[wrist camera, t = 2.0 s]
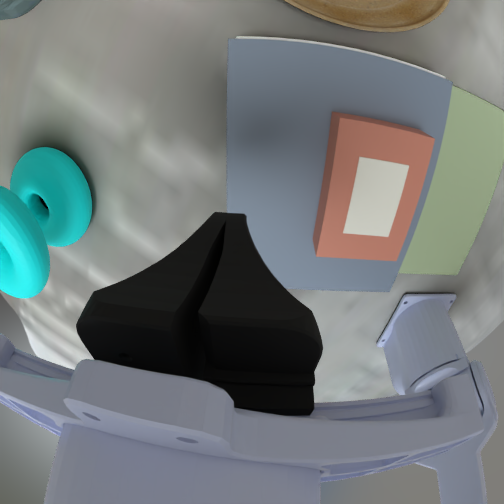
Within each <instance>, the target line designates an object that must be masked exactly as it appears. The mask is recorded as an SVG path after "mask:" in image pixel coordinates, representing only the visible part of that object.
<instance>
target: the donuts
mask: <svg viewBox="0 0 504 504" xmlns="http://www.w3.org/2000/svg"><path fill="white" fill-rule="evenodd" d="M39 196H40V197H41V198H42V199H43V200H44V201H45V203H46V205H47V206H48V209H49V210H47V209H46V208H45V206H44V205H43V204H42V202H41V200H40V198H39ZM91 215H92V198H91V193H90V189H89V186H88V183H87V181H86V179H85V177H84V175H83V173H82V171H81V170H80V168H79V167H78V166H77V164H76V163H75V162H74V161H73V160H72V159H71V158H70V157H69V156H67V155H66V154H65V153H63V152H61V151H59V150H57V149H54V148H50V147H39V148H35V149H32V150H30V151H29V152H27V153H26V154H24V155H23V156H22V157H21V158H20V160H19V161H18V162H17V164H16V166H15V168H14V170H13V173H12V177H11V181H10V190H8V189H7V188H5V187H3V186H0V290H2V291H3V292H5V293H7V294H9V295H11V296H14V297H17V298H31V297H33V296H35V295H37V294H38V293H40V292H41V291H42V290H43V288H44V287H45V285H46V283H47V280H48V277H49V272H50V256H49V251H48V247H47V245H50V246H55V247H62V246H67V245H70V244H73V243H74V242H76V241H77V240H79V239H80V238H81V237H82V236H83V234H84V233H85V232H86V230H87V228H88V226H89V223H90V220H91Z"/></svg>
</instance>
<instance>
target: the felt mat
mask: <svg viewBox="0 0 504 504" xmlns="http://www.w3.org/2000/svg"><path fill="white" fill-rule="evenodd" d="M503 162H504V111H503V110H501V109H499V108H498V107H496V106H494V105H492V104H490V103H488V102H486V101H485V100H483V99H481V98H479V97H477V96H475V95H472V94H470V93H468V92H466V91H464V90H462V89H460V88H457V87H455V86H453V85H452V92H451V98H450V105H449V110H448V116H447V121H446V126H445V131H444V135H443V140H442V144H441V148H440V153H439V156H438V160H437V164H436V168H435V171H434V175H433V178H432V182H431V185H430V189H429V192H428V195H427V198H426V201H425V204H424V207H423V210H422V213H421V216H420V219H419V222H418V224H417V227H416V230H415V233H414V235H413V238H412V240H411V243H410V245H409V248H408V250H407V253H406V255H405V258H404V260H403V263H402V265H401V267H400V270H399V272H398V273H409V274H436V275H457V274H458V272H459V270H460V268H461V266H462V264H463V262H464V261H465V259H466V257H467V255H468V253H469V251H470V248H471V246H472V244H473V242H474V240H475V238H476V236H477V233H478V231H479V229H480V227H481V224H482V222H483V219H484V217H485V215H486V212H487V210H488V207H489V204H490V202H491V199H492V196H493V193H494V191H495V188H496V185H497V182H498V179H499V176H500V172H501V169H502V166H503Z"/></svg>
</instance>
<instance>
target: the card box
mask: <svg viewBox="0 0 504 504" xmlns="http://www.w3.org/2000/svg"><path fill="white" fill-rule="evenodd" d="M434 141H435V138H433V137H431V136H430V135H428V134H426V133H425V132H423V131H421V130H419V129H415V128H411V127H407V126H404V125H399V124H395V123H391V122H387V121H382V120H377V119H372V118H367V117H362V116H357V115H351V114H345V113H339V112H332V115H331V123H330V131H329V139H328V146H327V153H326V161H325V167H324V174H323V180H322V187H321V193H320V199H319V205H318V211H317V217H316V222H315V228H314V233H313V244H314V249H315V254H316V257H331V258H348V259H366V260H383V261H397V258H398V256H399V253H400V251H401V248H402V246H403V243H404V241H405V238H406V235H407V232H408V230H409V227H410V224H411V221H412V218H413V215H414V212H415V209H416V206H417V203H418V200H419V197H420V194H421V190H422V187H423V184H424V180H425V177H426V173H427V169H428V166H429V162H430V158H431V154H432V150H433V146H434Z"/></svg>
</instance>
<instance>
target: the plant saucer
mask: <svg viewBox="0 0 504 504" xmlns="http://www.w3.org/2000/svg"><path fill="white" fill-rule="evenodd" d="M284 1H286V2H288V3H289V4H291V5H293V6H295V7H297V8H299V9H301V10H303V11H305V12H307V13H309V14H312V15H314V16H316V17H319V18H321V19H324V20H327V21H330V22H333V23H336V24H339V25H343V26H347V27H351V28H355V29H360V30H366V31H375V32H400V31H406V30H411V29H415V28H419V27H421V26H424V25H425V24H427V23H429V22H431V21H432V20H434V19H435V18H436V17H438V16H439V15H440V14H441V13H442V12H443V11H444V9H445V8H446V6H447V5H448V3H449V1H450V0H284Z"/></svg>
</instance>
